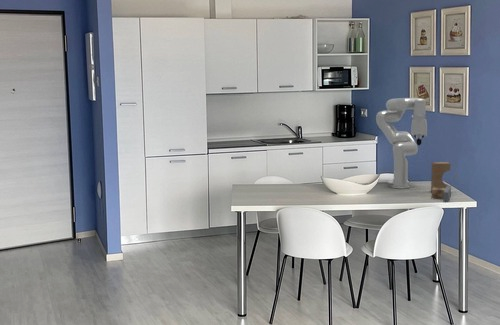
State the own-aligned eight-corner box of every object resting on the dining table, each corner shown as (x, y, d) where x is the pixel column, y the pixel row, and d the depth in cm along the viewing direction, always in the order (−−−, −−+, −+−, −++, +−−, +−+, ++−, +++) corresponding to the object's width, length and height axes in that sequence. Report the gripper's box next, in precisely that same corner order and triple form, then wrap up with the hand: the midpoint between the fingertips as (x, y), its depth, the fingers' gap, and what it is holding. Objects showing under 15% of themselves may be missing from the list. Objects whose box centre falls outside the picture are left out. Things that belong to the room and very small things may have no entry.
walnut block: (431, 198, 445) (431, 189, 444) (432, 196, 452) (433, 187, 451) (444, 199, 442) (444, 190, 441) (445, 197, 449) (445, 188, 448)
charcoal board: (443, 201, 434) (443, 192, 434) (446, 194, 457) (446, 185, 456) (447, 201, 434) (447, 192, 433) (450, 194, 456) (450, 185, 455)
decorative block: (446, 191, 468) (447, 161, 465) (449, 192, 463) (450, 163, 460) (430, 191, 467) (431, 162, 464) (433, 193, 461) (434, 163, 458)
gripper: (407, 117, 457) (406, 145, 459) (430, 118, 451) (429, 146, 454) (408, 116, 464) (408, 144, 466) (431, 117, 458) (431, 144, 461)
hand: (418, 144), depth 460 cm, fingers closed
